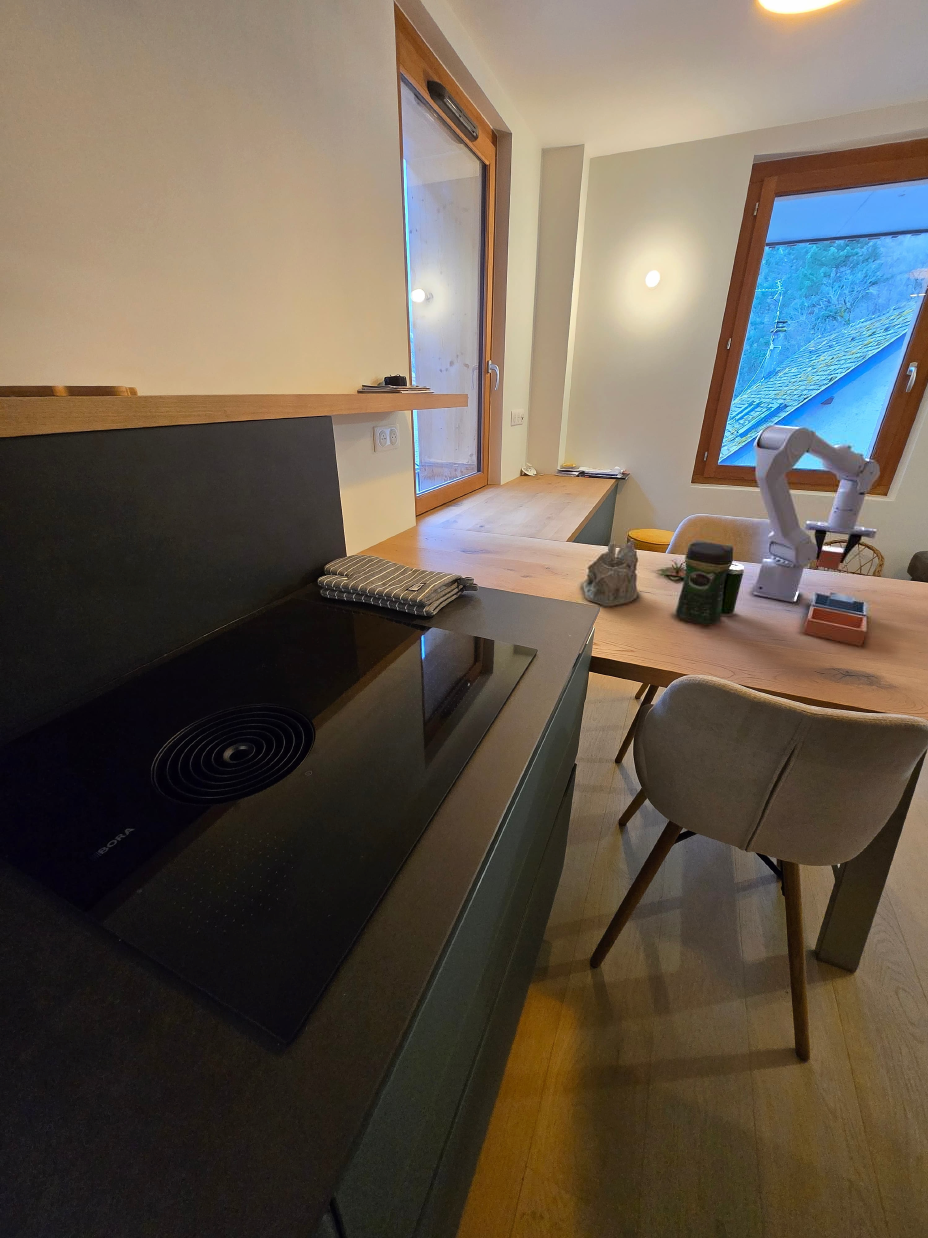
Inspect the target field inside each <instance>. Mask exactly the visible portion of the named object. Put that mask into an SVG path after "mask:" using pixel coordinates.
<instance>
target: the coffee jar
mask: <svg viewBox="0 0 928 1238" xmlns="http://www.w3.org/2000/svg"><path fill="white" fill-rule="evenodd" d="M733 560H734V547H733V545H727V544H721V543H715V542H709V541H702V540H695V541H693V542H691V543H690V544H689V546H688V547H687V551H686V555H685V556H684V561H685V563H684V566H686V567H685V569H686V572H685V578H684V577H683V583H682V587H681V590H680V594H679V597H678V600H677V603H676V604H677V605H676V607H675V616H676V618H678V619H680V620H682V621H686V622H690V623H694V624H697V625H701V626H711V625H715V624H717V623H718V622H719V621H720V620H721V617H722V616H721V610H722V600H723V590H724V582H725V578H726V574H727V571H728V570H729V568H730V567H731V565H732V563H734V562H733Z"/></svg>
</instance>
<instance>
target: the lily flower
mask: <svg viewBox="0 0 928 1238" xmlns="http://www.w3.org/2000/svg"><path fill="white" fill-rule="evenodd" d="M674 560H675V561H674ZM674 560H673V559H671V560H670V561H671V562H673V563H674V564H671V566H667V567H664V568H660V569H656V571H657V572H660V574H659V577H661V576H667V575H668V577H669V578H670V579H671V580H672V581H674V580H678V579H682V578H683V579H684V578H685V572H686V565H685V560H684V561H683V562H681V563H680V561H679V562H678V561H677V559H676V558H674Z"/></svg>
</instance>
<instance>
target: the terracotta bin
mask: <svg viewBox="0 0 928 1238" xmlns="http://www.w3.org/2000/svg"><path fill="white" fill-rule="evenodd" d="M810 606H811V605H810ZM809 610H810V611H809ZM809 610H808V614H809V615H808V614H807V617H806V622H805V625H804V629H803V634H805V635H809V636H814V637H818V638H823V639H828V640H832V641H837V642H841V643H844V644H845V643H846V644H849V645H854V646H858V647H859V646H860V647H861V646H862V644H863V641H864V639H865V636H866V634H867V623H868V622H867V619H868V617H867V616H866V617H863V616H859V615H853V614H848V613H843V612H838V611H833V610H828V609H823V608H818V607H812V606H811V608H810V607H809Z"/></svg>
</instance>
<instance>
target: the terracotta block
mask: <svg viewBox="0 0 928 1238" xmlns="http://www.w3.org/2000/svg"><path fill="white" fill-rule="evenodd" d="M844 549H845V548H843V547H836V546H829V545H823V546H822V550H821V555H820V558H819V560H817V564H816V567H819V568H825V569H831V570H839V567H840V565H841V563H840V561H841V558H842V555H843V551H844Z"/></svg>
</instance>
